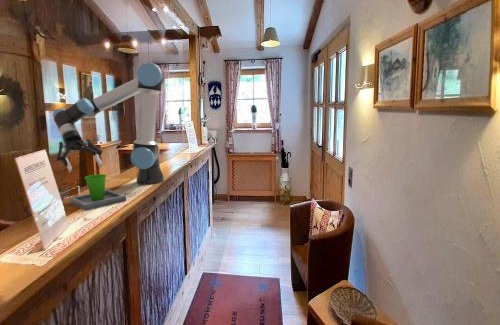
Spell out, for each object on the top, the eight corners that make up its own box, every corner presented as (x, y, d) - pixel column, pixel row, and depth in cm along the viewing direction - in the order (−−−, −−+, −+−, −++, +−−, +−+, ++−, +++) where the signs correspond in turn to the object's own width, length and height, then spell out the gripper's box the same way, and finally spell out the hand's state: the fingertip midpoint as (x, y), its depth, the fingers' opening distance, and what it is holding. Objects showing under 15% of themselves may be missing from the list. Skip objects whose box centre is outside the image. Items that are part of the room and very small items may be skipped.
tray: (109, 194, 160) (108, 189, 160) (126, 200, 148) (125, 195, 148) (70, 203, 147) (69, 197, 147) (85, 210, 135) (84, 205, 135)
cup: (100, 202, 142) (97, 178, 141) (82, 202, 144) (79, 178, 142) (112, 197, 151) (110, 174, 149) (95, 196, 153) (93, 174, 151)
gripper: (94, 137, 169) (110, 168, 162) (40, 142, 151) (55, 177, 144) (97, 127, 165) (114, 159, 158) (42, 131, 147) (58, 167, 140)
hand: (86, 168), depth 151 cm, fingers open, 13 cm apart
